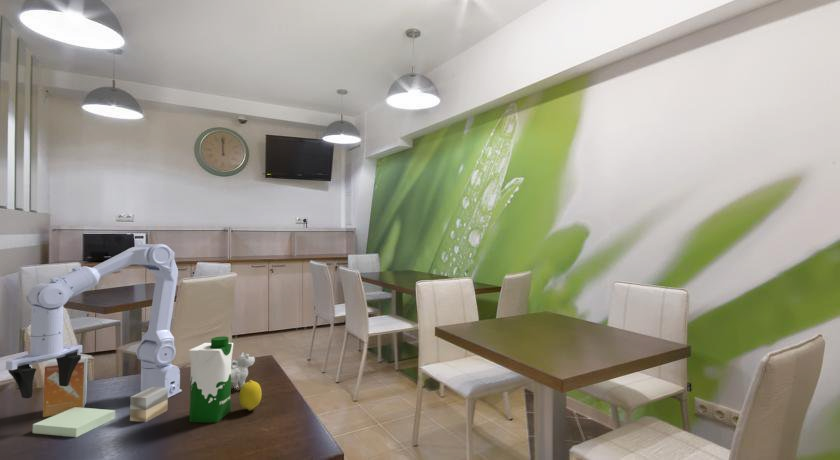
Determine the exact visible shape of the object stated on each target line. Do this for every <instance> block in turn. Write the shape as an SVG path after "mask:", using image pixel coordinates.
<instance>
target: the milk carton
mask: <svg viewBox="0 0 840 460" xmlns="http://www.w3.org/2000/svg"><path fill="white" fill-rule="evenodd" d="M210 340H211V341H210V342H204V343H202V344H200V345H197V346H196V347H193V348H191V349H188V355H189V362H190V363H189V364H190V380H189V381H190V385H189V386H190V393H189V395H190V396H189V419H188V420H189V423H219V422H220V421H221V420H222V419H223V418H224V417H225V416H227V415H228V414H229V413H230V412H231V411H232V405H231V404H232V396H231V395H232V392H231V391H232V383H231V361H232V359H233V351H234V342H229V337H228V336H217V337H212V338H211V339H210Z"/></svg>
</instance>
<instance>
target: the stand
mask: <svg viewBox="0 0 840 460" xmlns="http://www.w3.org/2000/svg"><path fill="white" fill-rule="evenodd" d="M115 419H116V410H115V409H101V408H92V407H91V408H90V407H84V408H80V407H74V408H72V409H69V410H67V411H64V412H62V413H59V414H57V415H53V416H49V417H46V418H45V419H43V420H40V421H38V422H35V423H33V424H32V434H38V435H50V436H60V437H61V436H62V437H72V438H78V437H79V436H82V435H84V434H86V433H88V432H90V431H92V430H94V429H96V428H98V427H101V426H102V425H104V424H107V423H109V422H110V421H112V420H115Z"/></svg>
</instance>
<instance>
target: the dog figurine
mask: <svg viewBox="0 0 840 460" xmlns="http://www.w3.org/2000/svg"><path fill="white" fill-rule="evenodd" d="M255 362H256V358H255V356H250V354H249V353H246V354H245V353H244V352H240V354H239V356H237V358H236V360H234V359H233V360H232V359H231V384H232V385H233V389H235V388H236V389H238V388H239V386H240V389H241V388H242V386H243V385H244V384H245V383H246V379H247V377H248V375H249V370H248V368H249V367H251V366H253V365H254V363H255ZM237 387H238V388H237Z"/></svg>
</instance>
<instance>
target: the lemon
mask: <svg viewBox="0 0 840 460" xmlns="http://www.w3.org/2000/svg"><path fill="white" fill-rule="evenodd" d="M262 393H263V392H262V387H261V385H260V384H259V383H258V382H257V381H255V380H254V381H253V380H252V379H250V380H248V381H247V382H245V384H244V385H243V386H242V388H241V387H240V391H239V395H238V396H239V397H238V399H239V404H240V405H241V407H242V408H243V409H244V410H245V409H246V410H248V411H252V410H253V409H254V408H256V407H257V406H258V405H259V404H260V403H261V400H262Z"/></svg>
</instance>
